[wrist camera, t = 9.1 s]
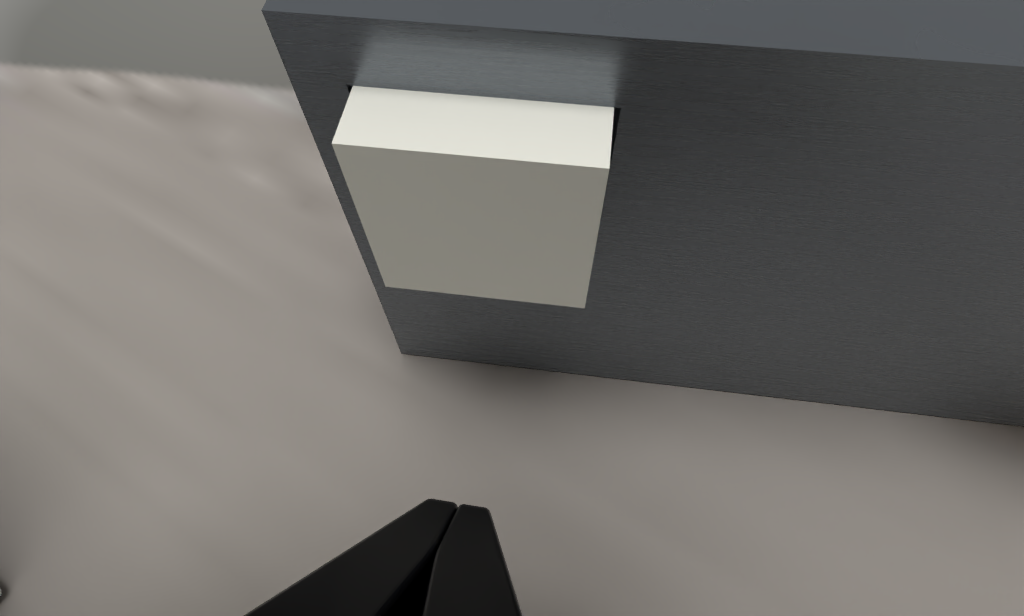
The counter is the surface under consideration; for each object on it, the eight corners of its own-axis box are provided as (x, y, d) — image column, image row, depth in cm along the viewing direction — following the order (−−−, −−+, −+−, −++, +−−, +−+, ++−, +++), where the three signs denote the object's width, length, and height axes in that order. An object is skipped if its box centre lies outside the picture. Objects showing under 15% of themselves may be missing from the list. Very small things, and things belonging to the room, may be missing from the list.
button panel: (1123, 438, 17) (1968, 136, 7) (401, 353, 18) (261, 10, 9) (1075, 304, 19) (1678, -77, 9) (429, 238, 20) (342, -147, 11)
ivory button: (584, 308, 12) (608, 168, 9) (385, 286, 12) (331, 143, 9) (600, 136, 14) (624, -31, 11) (430, 121, 15) (401, -46, 11)
